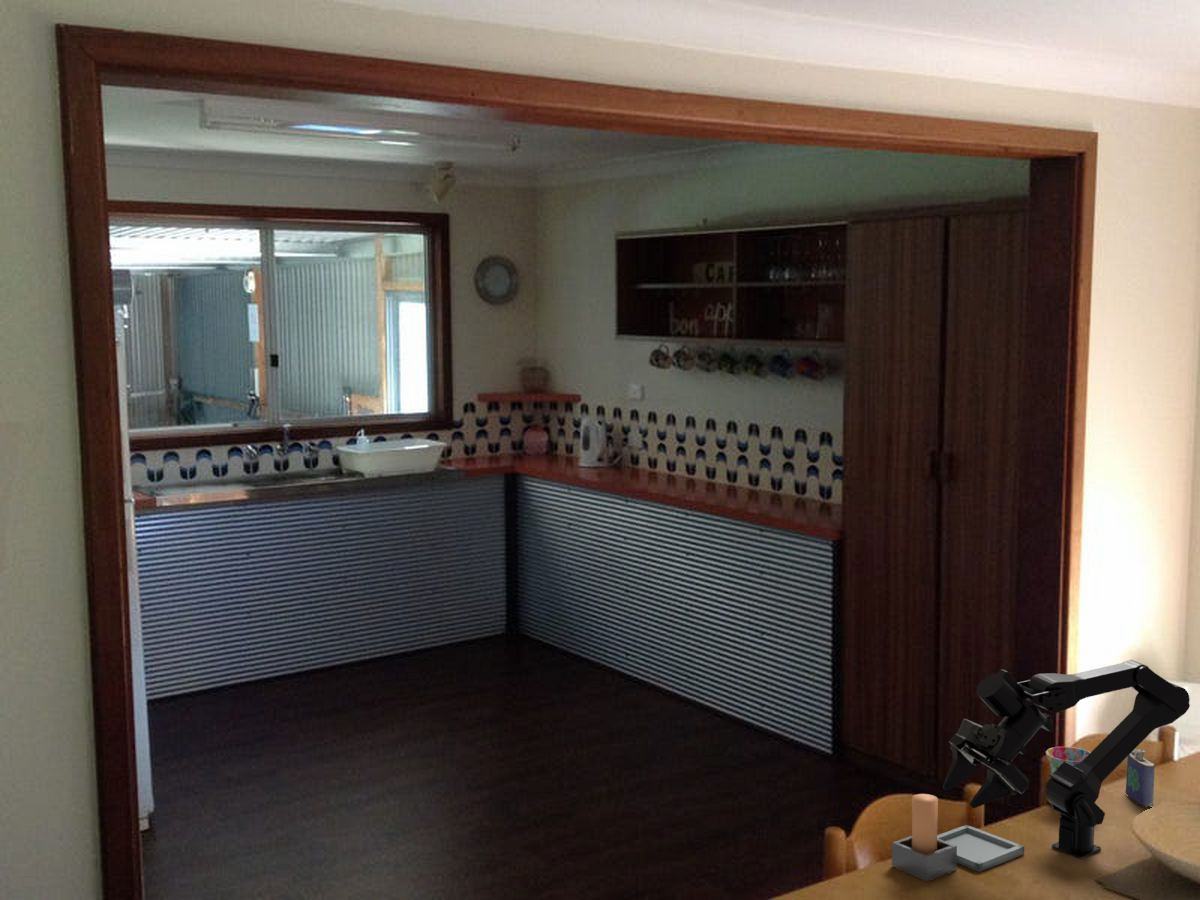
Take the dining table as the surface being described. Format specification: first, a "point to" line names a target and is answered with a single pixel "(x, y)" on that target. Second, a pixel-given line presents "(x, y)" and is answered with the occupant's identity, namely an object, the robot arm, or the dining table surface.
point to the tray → (980, 847)
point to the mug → (1065, 756)
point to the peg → (924, 823)
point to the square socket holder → (924, 859)
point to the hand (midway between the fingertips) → (957, 797)
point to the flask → (1140, 779)
